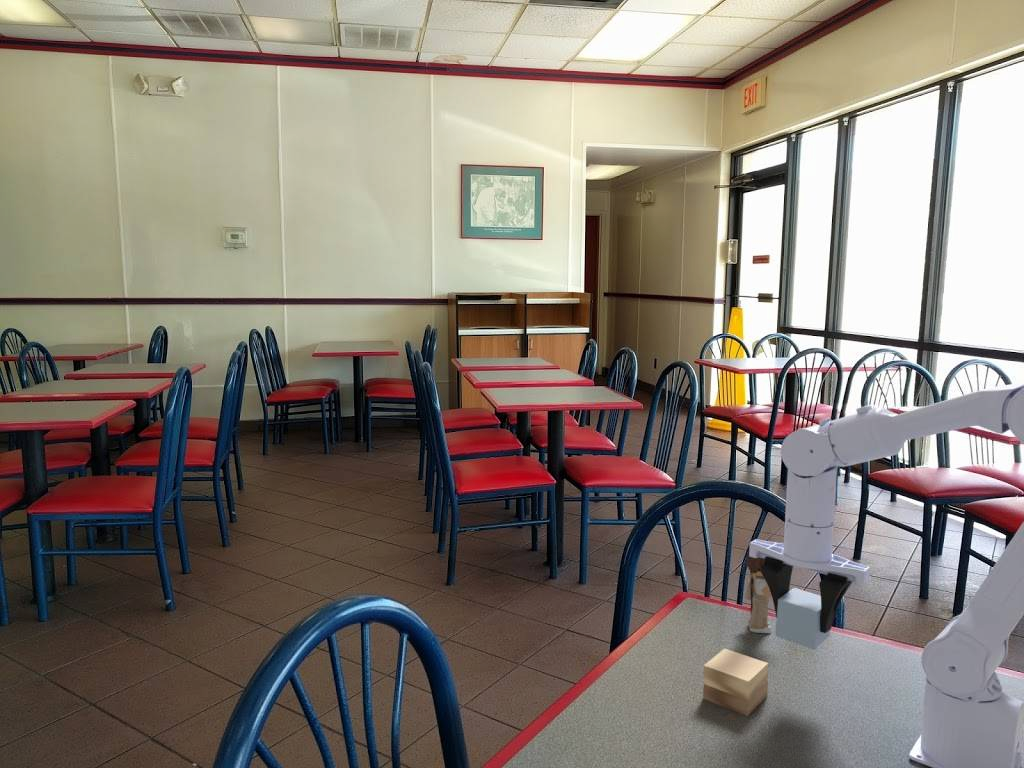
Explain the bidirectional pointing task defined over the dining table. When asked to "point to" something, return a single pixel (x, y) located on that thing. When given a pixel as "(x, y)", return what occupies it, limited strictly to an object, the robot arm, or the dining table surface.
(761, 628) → the toy
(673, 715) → the dining table surface
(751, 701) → the lower slab
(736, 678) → the upper slab
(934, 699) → the robot arm
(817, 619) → the cube
